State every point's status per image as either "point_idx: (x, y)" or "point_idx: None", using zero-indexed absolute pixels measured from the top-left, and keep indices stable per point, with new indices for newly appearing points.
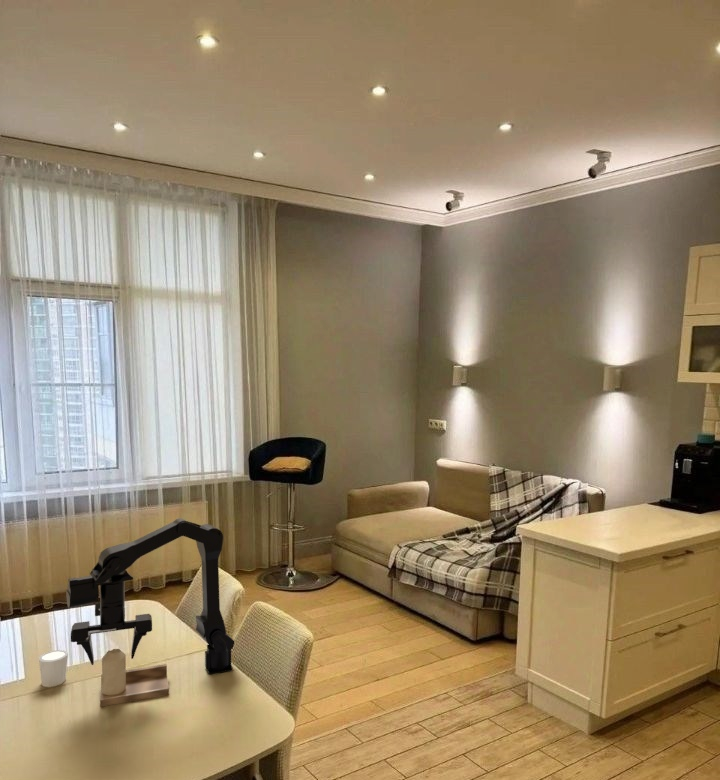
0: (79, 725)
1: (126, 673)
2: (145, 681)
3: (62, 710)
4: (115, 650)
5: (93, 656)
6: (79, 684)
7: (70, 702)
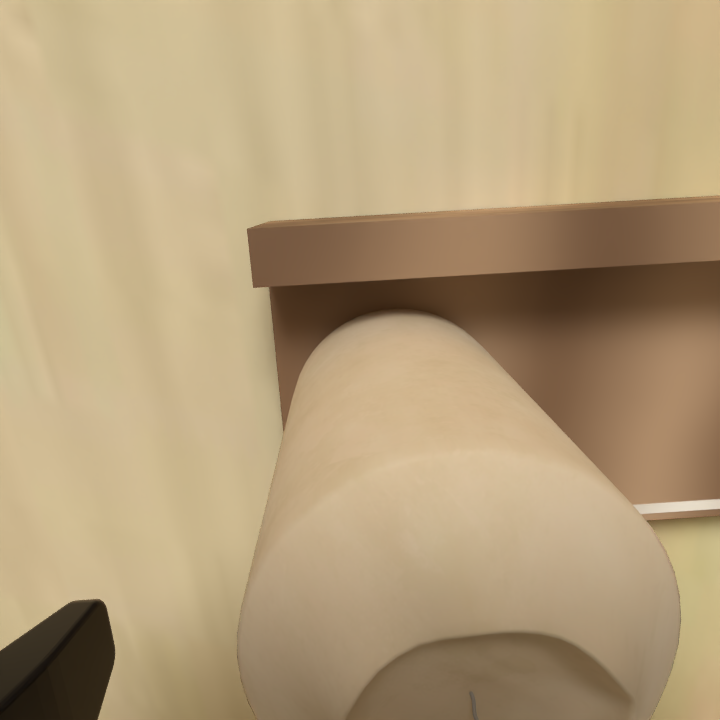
0: (197, 699)
1: (534, 268)
2: (680, 317)
3: (18, 489)
4: (516, 619)
5: (40, 702)
6: (25, 28)
7: (44, 382)
